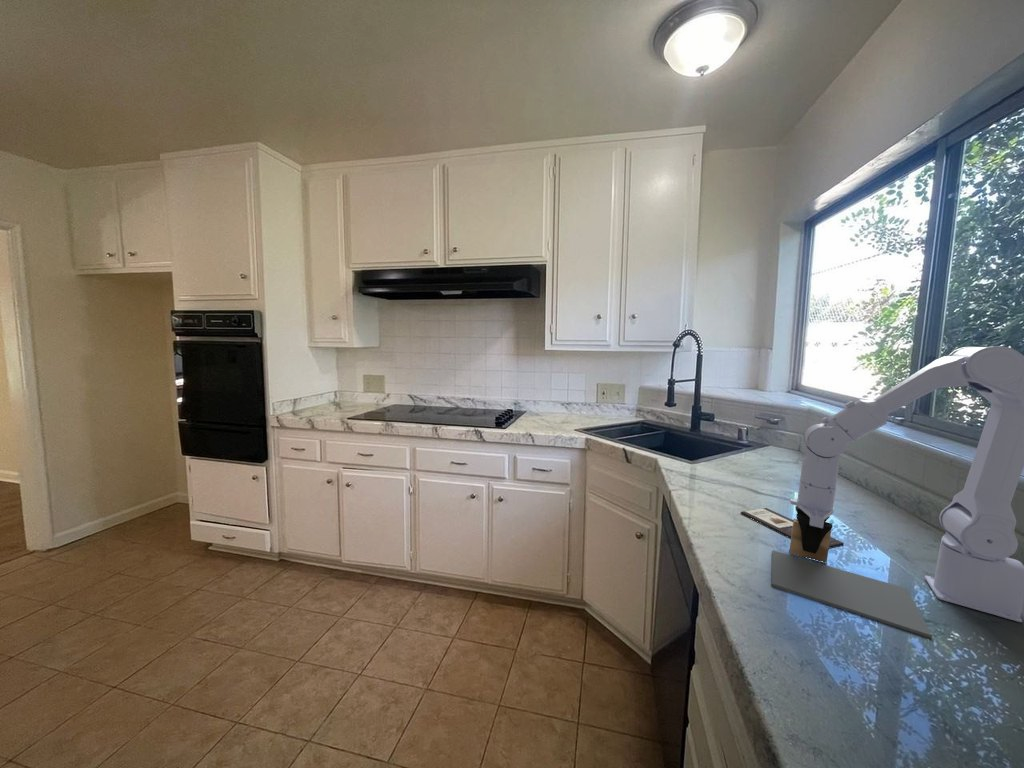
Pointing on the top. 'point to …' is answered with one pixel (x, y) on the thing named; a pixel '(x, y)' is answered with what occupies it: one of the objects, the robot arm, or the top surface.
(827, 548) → the oak tile
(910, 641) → the top surface
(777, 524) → the chocolate bar
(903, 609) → the rubber mat
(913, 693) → the top surface
